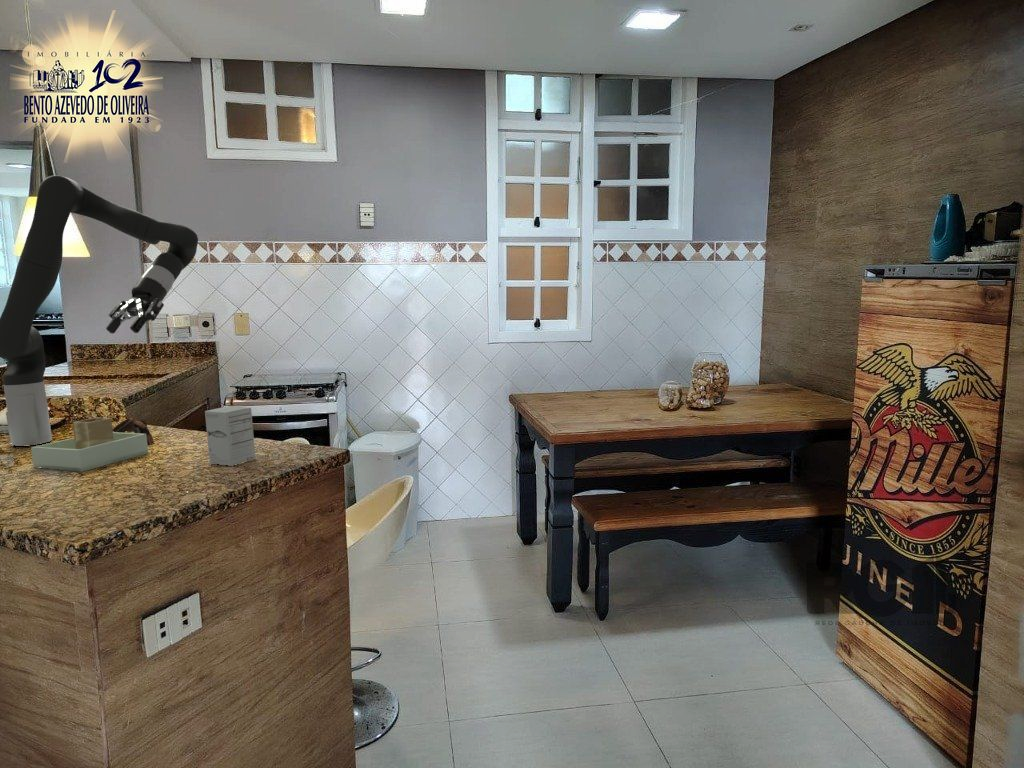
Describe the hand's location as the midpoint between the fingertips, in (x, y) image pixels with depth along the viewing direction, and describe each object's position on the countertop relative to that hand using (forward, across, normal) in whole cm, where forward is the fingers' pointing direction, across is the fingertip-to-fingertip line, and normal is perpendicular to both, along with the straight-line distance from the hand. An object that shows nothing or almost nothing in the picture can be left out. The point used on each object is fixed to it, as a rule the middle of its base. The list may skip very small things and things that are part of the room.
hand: (121, 331), depth 176 cm
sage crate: (+31, +2, +12) cm, 34 cm away
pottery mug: (+19, -5, +25) cm, 32 cm away
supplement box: (+27, +40, +16) cm, 51 cm away
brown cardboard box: (+30, +2, +12) cm, 32 cm away
